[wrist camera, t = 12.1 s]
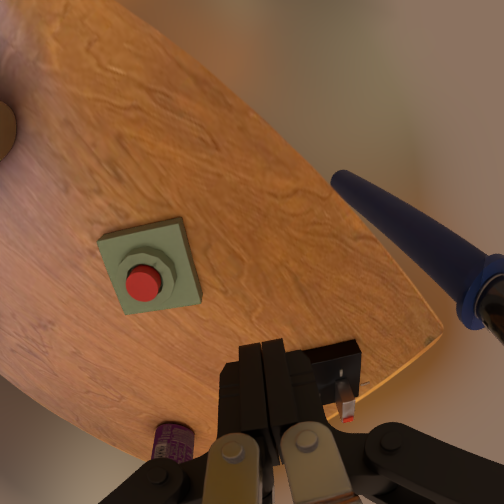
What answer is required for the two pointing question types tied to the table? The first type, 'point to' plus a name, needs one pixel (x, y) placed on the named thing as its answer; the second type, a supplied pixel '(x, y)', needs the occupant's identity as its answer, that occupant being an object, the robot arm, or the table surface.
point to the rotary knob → (344, 400)
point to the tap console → (336, 368)
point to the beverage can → (173, 443)
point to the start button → (143, 283)
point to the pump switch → (152, 264)
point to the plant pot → (6, 129)
